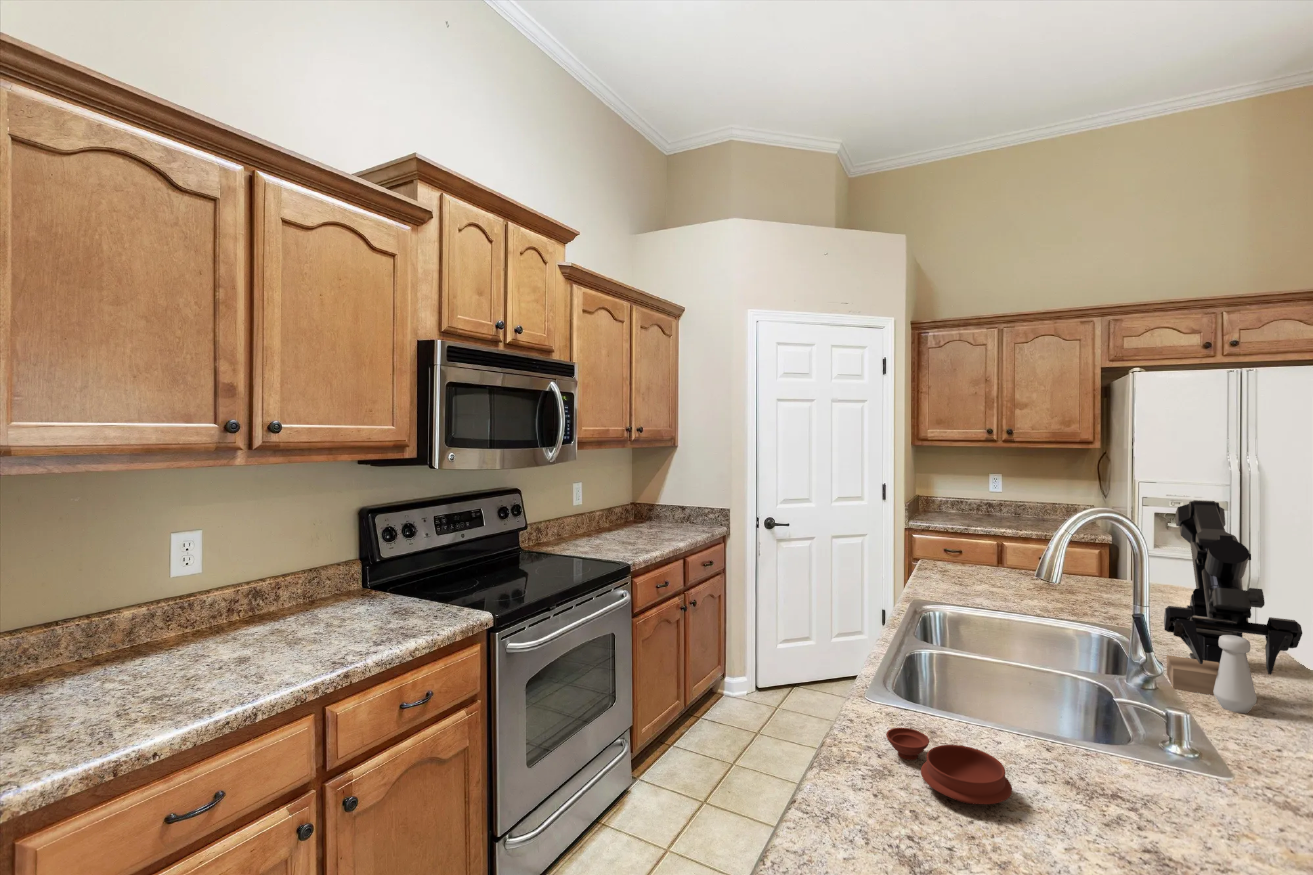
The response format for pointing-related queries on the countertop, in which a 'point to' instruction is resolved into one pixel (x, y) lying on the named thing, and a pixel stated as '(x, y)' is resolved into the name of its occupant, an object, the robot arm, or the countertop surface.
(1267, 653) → the robot arm
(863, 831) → the countertop surface
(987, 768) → the pottery
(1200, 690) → the walnut plinth
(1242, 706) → the salt shaker
